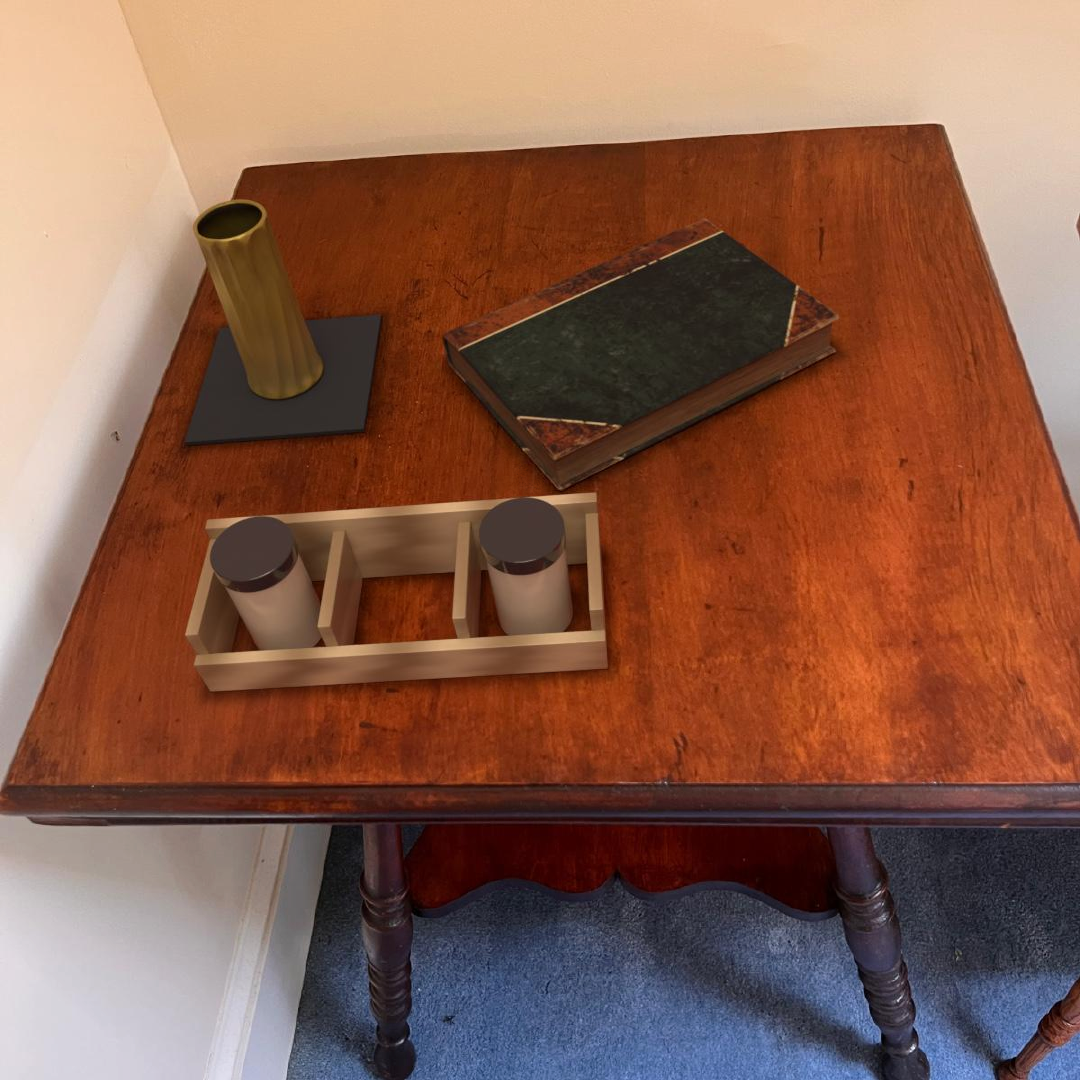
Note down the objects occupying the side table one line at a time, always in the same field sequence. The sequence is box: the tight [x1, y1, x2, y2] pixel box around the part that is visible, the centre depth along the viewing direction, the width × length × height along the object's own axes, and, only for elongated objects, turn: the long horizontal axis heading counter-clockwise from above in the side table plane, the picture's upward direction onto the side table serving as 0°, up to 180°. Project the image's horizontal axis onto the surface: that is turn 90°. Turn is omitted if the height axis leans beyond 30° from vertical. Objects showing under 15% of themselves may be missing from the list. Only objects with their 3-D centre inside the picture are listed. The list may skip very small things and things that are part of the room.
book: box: [441, 218, 840, 492], centre depth 80 cm, size 17×4×25 cm
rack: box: [184, 491, 609, 692], centre depth 64 cm, size 25×9×6 cm, turn 90°
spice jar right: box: [479, 496, 574, 636], centre depth 63 cm, size 5×5×8 cm
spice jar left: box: [210, 515, 323, 651], centre depth 64 cm, size 5×5×8 cm
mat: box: [184, 313, 383, 446], centre depth 83 cm, size 14×14×1 cm
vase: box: [192, 198, 323, 400], centre depth 78 cm, size 6×6×14 cm
